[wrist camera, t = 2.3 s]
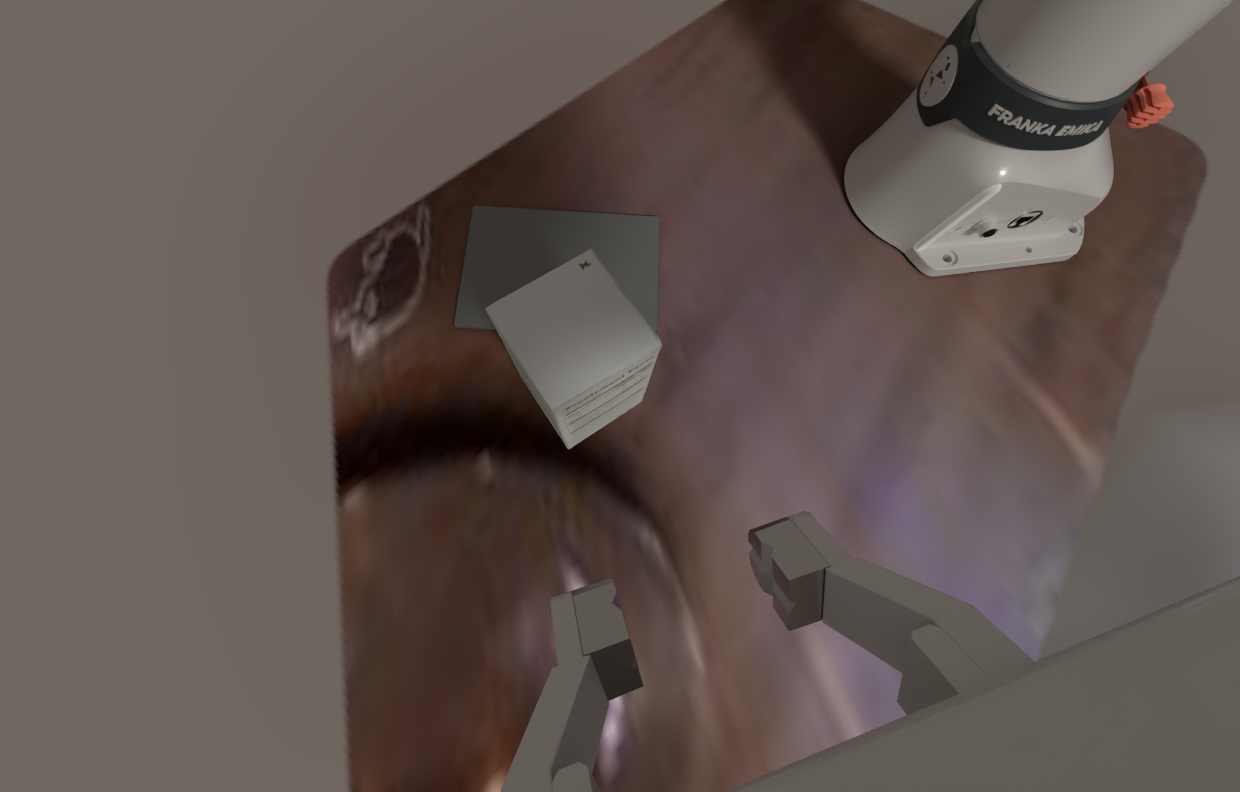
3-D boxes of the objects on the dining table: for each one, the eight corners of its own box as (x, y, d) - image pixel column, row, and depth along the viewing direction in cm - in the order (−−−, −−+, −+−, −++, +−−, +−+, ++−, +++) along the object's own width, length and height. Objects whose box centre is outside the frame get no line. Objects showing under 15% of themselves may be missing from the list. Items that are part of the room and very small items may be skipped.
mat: (658, 219, 42) (659, 216, 41) (656, 338, 38) (657, 336, 38) (474, 208, 41) (473, 205, 41) (455, 327, 38) (453, 325, 37)
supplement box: (519, 378, 37) (479, 303, 25) (596, 333, 38) (593, 242, 26) (567, 453, 35) (549, 413, 23) (645, 404, 36) (666, 341, 24)
